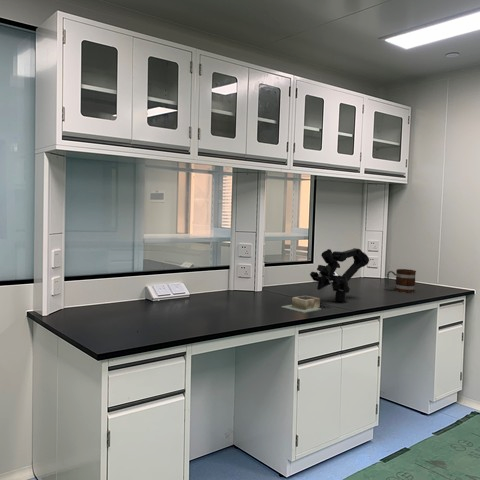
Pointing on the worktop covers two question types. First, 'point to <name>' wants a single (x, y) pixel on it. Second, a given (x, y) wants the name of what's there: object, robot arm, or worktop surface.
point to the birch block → (305, 302)
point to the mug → (403, 280)
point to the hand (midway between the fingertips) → (318, 289)
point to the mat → (300, 309)
